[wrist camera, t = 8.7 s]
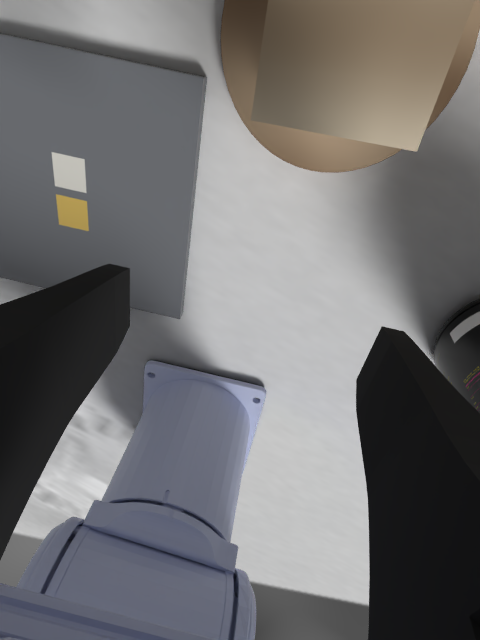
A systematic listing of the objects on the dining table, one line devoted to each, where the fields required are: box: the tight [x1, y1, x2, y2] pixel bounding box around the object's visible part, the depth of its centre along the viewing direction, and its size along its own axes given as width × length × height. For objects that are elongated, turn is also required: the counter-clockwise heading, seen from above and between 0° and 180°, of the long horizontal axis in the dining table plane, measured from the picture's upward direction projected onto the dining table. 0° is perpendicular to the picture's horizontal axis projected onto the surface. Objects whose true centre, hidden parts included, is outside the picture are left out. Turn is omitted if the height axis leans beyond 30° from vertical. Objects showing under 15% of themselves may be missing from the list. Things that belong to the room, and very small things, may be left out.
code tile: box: [0, 33, 207, 319], centre depth 20 cm, size 12×12×1 cm
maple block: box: [251, 0, 475, 152], centre depth 12 cm, size 4×4×6 cm
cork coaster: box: [221, 0, 480, 172], centre depth 14 cm, size 9×9×1 cm
